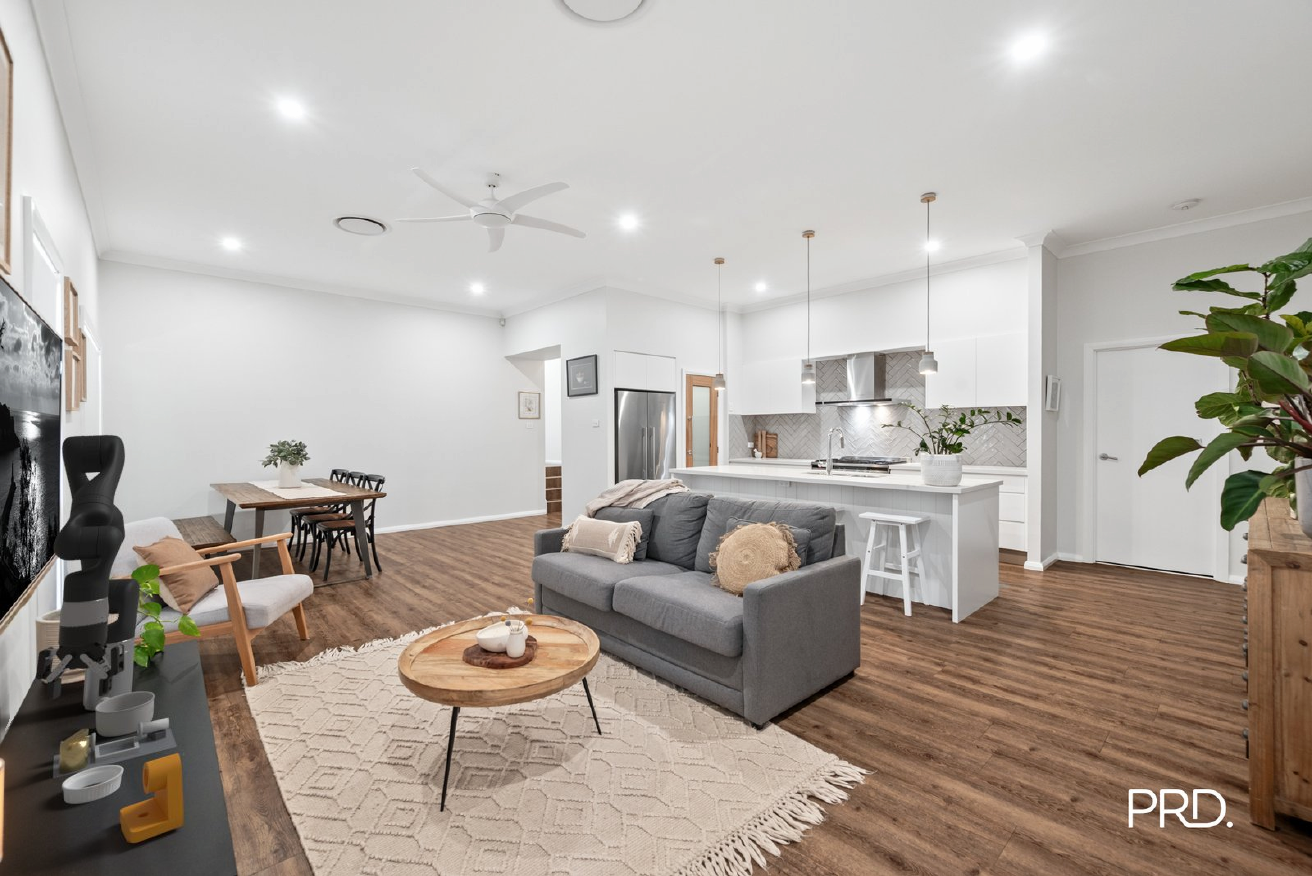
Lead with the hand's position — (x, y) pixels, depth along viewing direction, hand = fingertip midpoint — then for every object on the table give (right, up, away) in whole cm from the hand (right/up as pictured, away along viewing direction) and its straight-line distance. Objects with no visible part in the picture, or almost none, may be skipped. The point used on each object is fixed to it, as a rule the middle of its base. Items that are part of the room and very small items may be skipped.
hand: (79, 696), depth 127 cm
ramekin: (+11, -17, -9) cm, 22 cm away
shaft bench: (+2, -17, +7) cm, 18 cm away
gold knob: (-1, -15, -1) cm, 15 cm away
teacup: (-8, -17, +18) cm, 26 cm away
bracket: (+29, -17, -17) cm, 38 cm away
